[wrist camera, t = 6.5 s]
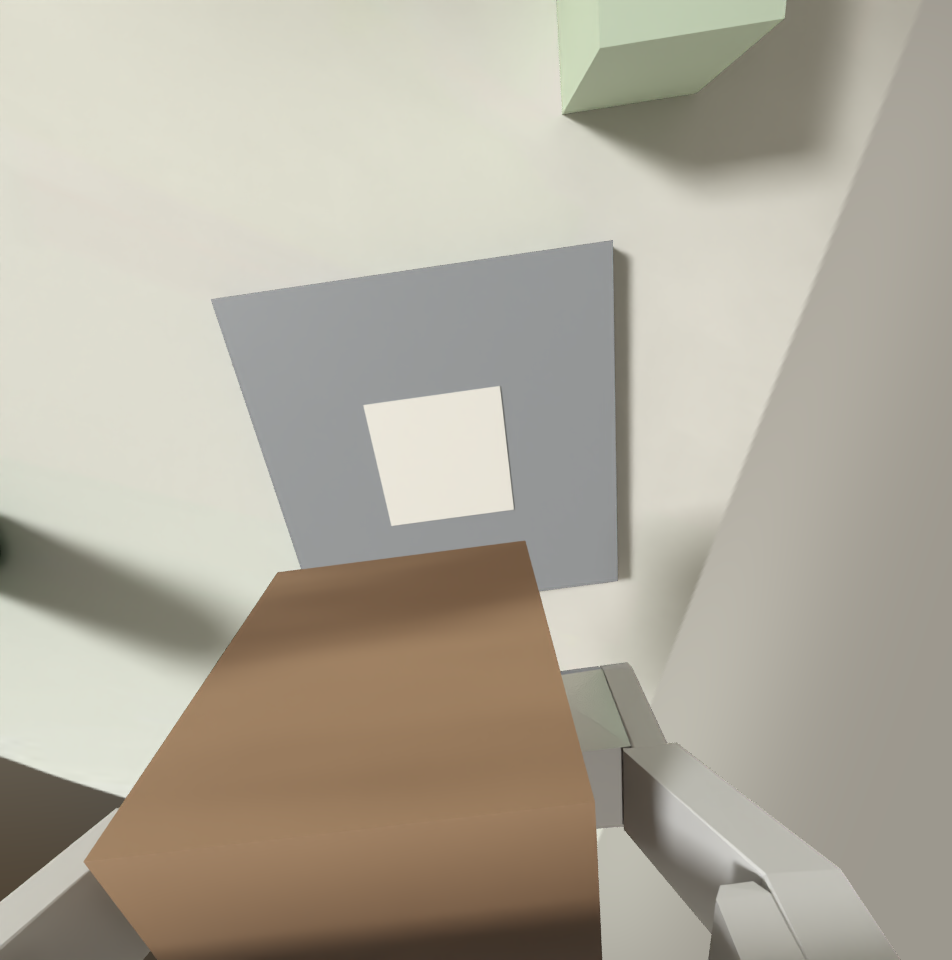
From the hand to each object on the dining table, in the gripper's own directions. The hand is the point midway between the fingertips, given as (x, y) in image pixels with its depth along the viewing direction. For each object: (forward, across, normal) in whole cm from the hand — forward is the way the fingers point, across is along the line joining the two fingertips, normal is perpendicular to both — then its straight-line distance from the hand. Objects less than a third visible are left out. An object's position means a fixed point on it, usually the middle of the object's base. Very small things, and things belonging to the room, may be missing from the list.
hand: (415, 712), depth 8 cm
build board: (+14, 0, 0) cm, 14 cm away
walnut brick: (+2, 0, 0) cm, 2 cm away
